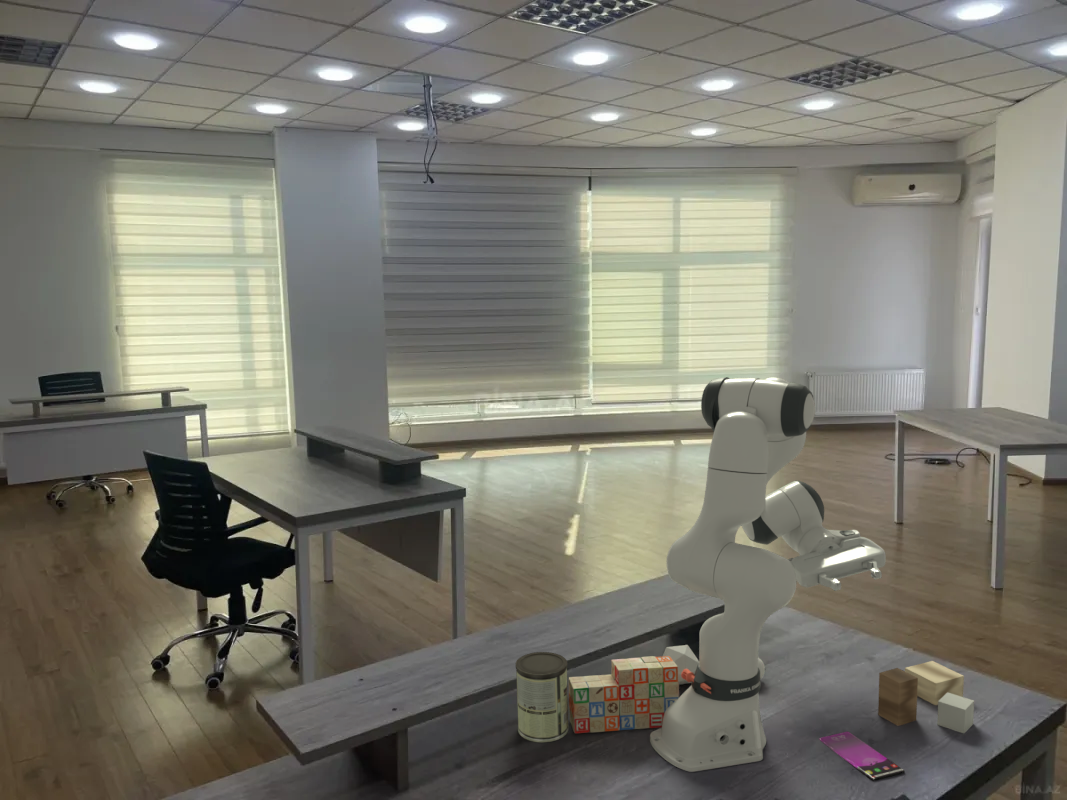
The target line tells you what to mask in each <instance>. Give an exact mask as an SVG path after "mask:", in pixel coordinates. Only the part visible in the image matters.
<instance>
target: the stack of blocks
mask: <svg viewBox="0 0 1067 800" xmlns="http://www.w3.org/2000/svg"><path fill="white" fill-rule="evenodd" d="M662 656H663V655H662ZM662 656H655V655H654V656H653V655H651V656H640V657H629V658H619V659H618V658H617V659H611V660H610V662H611V670H610V671H611V674H610V673H609V674H601V675H600V674H598V675H584V676H569V677H568V707H569V708H568V711H569V712H568V714H569V722H570V725H571V728H572V730H573V732H574V734H584V733H602V732H615V731H625V730H626V731H627V730H642V729H656V728H657V729H660V728H662V723H663V717H664V713H665V711H666V709H667V708H668V707H669V706H670V705H672V704H673V703H674V702H675V701H676V700H677V699H678V698H679V697H680V690H679V689H680V685H679V681H678V666H677V665H676V664H675V662H674V661H673V660H672V659H671V657H670V656H663V657H662Z"/></svg>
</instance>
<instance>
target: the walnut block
mask: <svg viewBox="0 0 1067 800" xmlns="http://www.w3.org/2000/svg"><path fill="white" fill-rule="evenodd" d="M878 675H879V676H878V677H879V678H878V703H877V704H878V706H877V707H878V709H877V710H878V711H877V715H878V716H879V717H881V718H883V719H885V720H887V721H889V722H890V723H892V724H893V725H895V726H897V727H899V726H903V725H907V724H910V723H912V722H915V721H917V713H918V712H917V709H918V708H917V707H918V696H917V687H918V678H917V677H915V676H913V675H911V674H909V673H907V672H905V670H902V669H901V668H899V667H896V668H895V667H894V668H891V669H888V670H885V671H881V672H879V674H878Z"/></svg>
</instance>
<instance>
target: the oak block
mask: <svg viewBox="0 0 1067 800" xmlns="http://www.w3.org/2000/svg"><path fill="white" fill-rule="evenodd" d="M904 671H905V672H907V673H909V674H911V675H913V676H915V677H917V678H918V687H917V697H918V698H921V699H922V700H924V701H926V702H928V703H930V704H932V705H934V706H938V701H939V700H940V699H941V698H942V697H943V696H944V695H945V694H946V693H947V692H948V693H951V694H955V695H958V696H961V697H964V687H965V685H964V683H965V681H964V680H965V675H963V674H960V673H959V672H957V671H955V670H952V669H950V668H948V667H946V666H944V665H942V664H941V663H938V662H935V661H934V660H930V661H926V662H923V663H918V664H914V665H911V666H906V667H905V668H904Z"/></svg>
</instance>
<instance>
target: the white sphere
mask: <svg viewBox="0 0 1067 800" xmlns="http://www.w3.org/2000/svg"><path fill="white" fill-rule="evenodd" d="M765 667H766V666H765V664H764V662H763V660H762V659H761V658H760V657H758V668H759V669H760V680H762V679H763V678H764V675H765V674H766V673H765V671H766V668H765Z"/></svg>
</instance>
